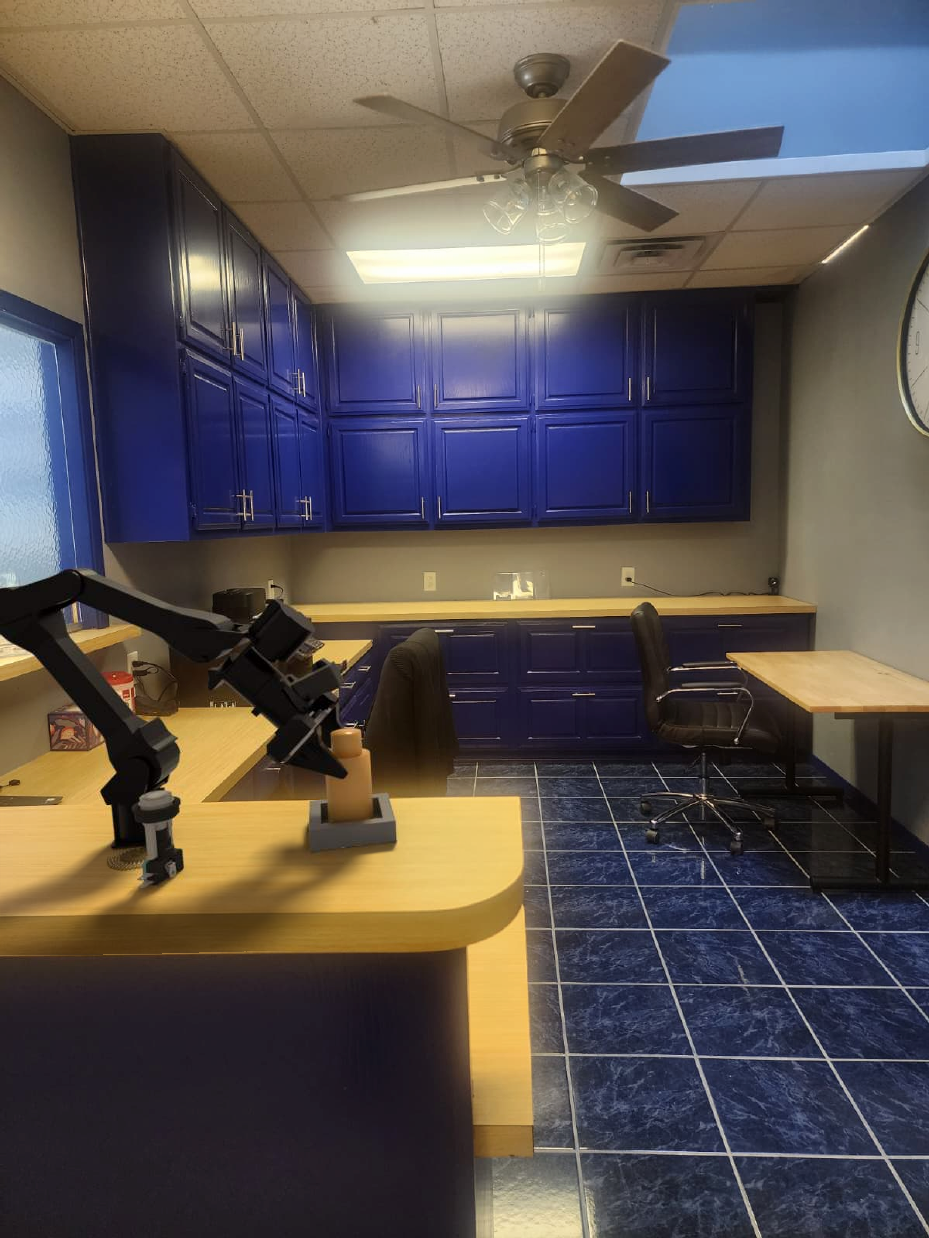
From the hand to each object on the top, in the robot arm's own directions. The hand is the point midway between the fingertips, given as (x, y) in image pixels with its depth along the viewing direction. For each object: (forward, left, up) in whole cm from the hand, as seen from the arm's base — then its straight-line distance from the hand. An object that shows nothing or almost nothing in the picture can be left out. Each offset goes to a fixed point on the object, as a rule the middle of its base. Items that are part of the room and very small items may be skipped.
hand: (351, 765), depth 98 cm
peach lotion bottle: (0, 0, -8) cm, 8 cm away
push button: (-23, -8, -9) cm, 26 cm away
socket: (0, 0, -9) cm, 9 cm away
